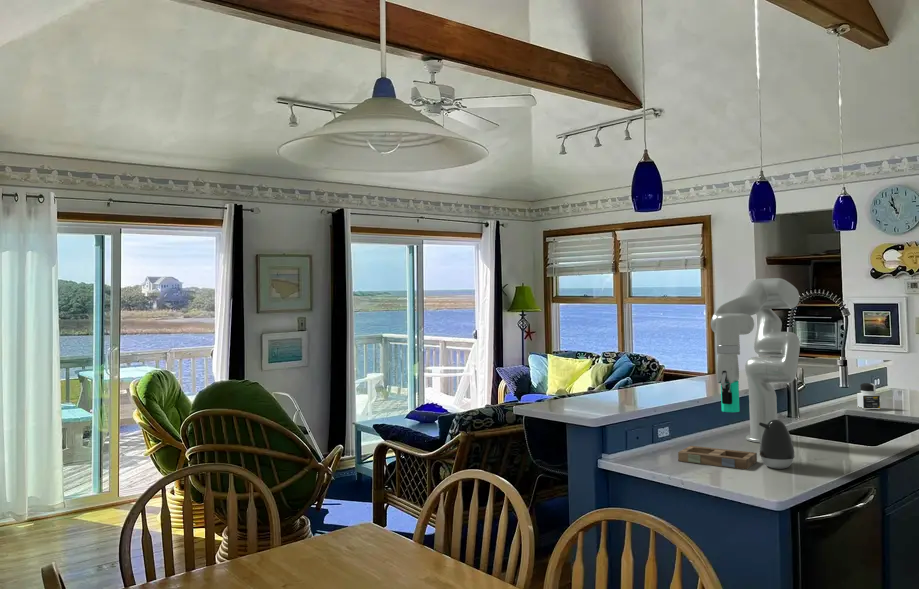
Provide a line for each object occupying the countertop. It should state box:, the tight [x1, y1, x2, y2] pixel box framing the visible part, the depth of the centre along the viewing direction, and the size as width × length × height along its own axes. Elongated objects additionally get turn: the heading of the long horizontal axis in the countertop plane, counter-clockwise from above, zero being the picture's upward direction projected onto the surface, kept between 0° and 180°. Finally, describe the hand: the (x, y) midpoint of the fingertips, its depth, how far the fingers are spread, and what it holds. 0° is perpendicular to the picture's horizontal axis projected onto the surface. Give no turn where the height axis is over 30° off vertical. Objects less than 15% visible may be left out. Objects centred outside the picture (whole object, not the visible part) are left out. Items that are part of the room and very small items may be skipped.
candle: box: [720, 380, 741, 413], centre depth 237 cm, size 6×6×12 cm
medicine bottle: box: [856, 382, 881, 409], centre depth 319 cm, size 7×7×12 cm
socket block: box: [677, 445, 758, 470], centre depth 228 cm, size 12×22×3 cm, turn 52°
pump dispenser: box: [759, 419, 796, 470], centre depth 219 cm, size 10×10×15 cm
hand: (729, 402), depth 237 cm, fingers closed on candle, 5 cm apart
